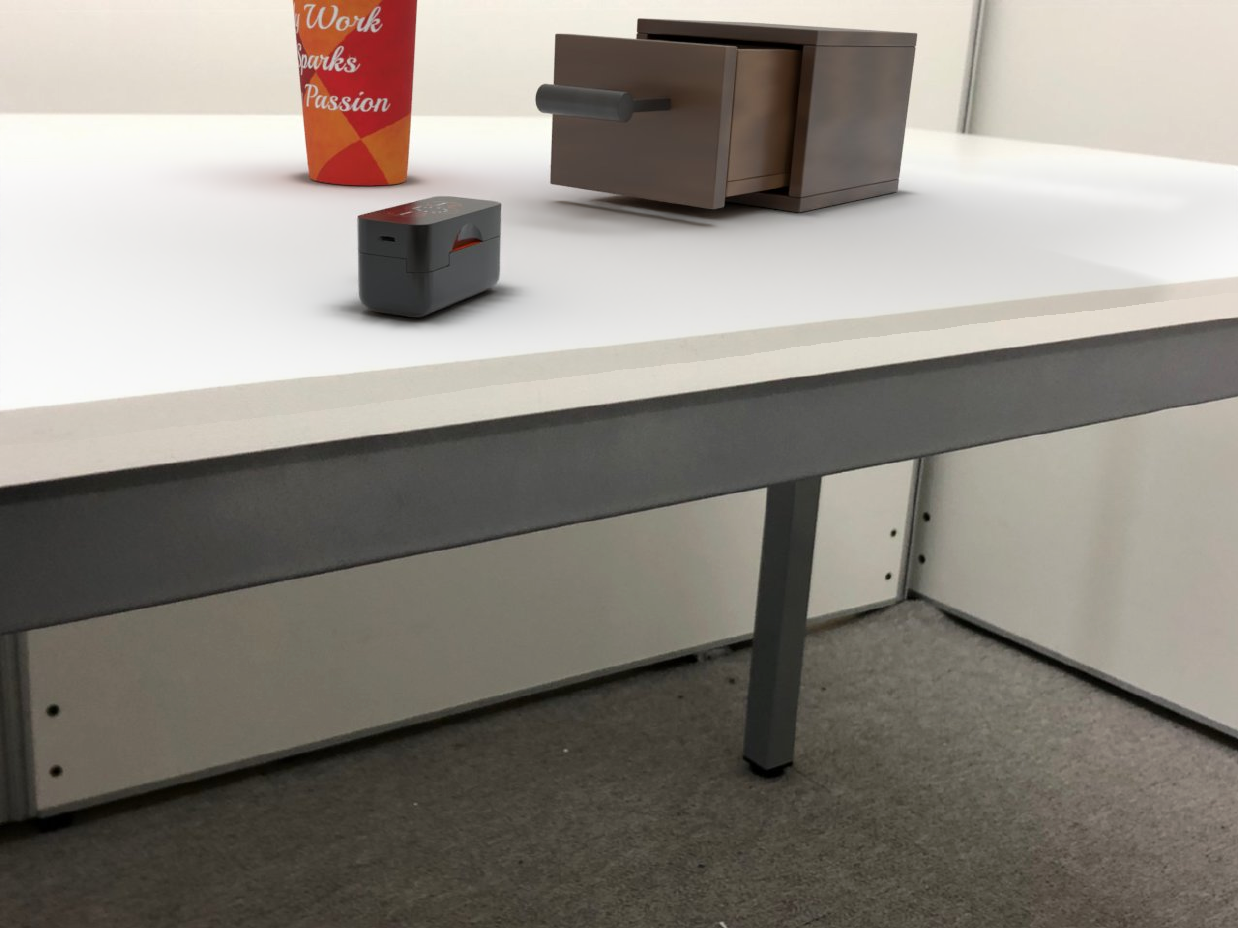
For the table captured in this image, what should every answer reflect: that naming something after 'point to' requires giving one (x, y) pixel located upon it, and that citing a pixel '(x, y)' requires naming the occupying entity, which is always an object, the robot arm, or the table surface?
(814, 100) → the cabinet
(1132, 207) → the table surface
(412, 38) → the paper cup
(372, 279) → the wireless earbuds
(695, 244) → the table surface
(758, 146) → the drawer
